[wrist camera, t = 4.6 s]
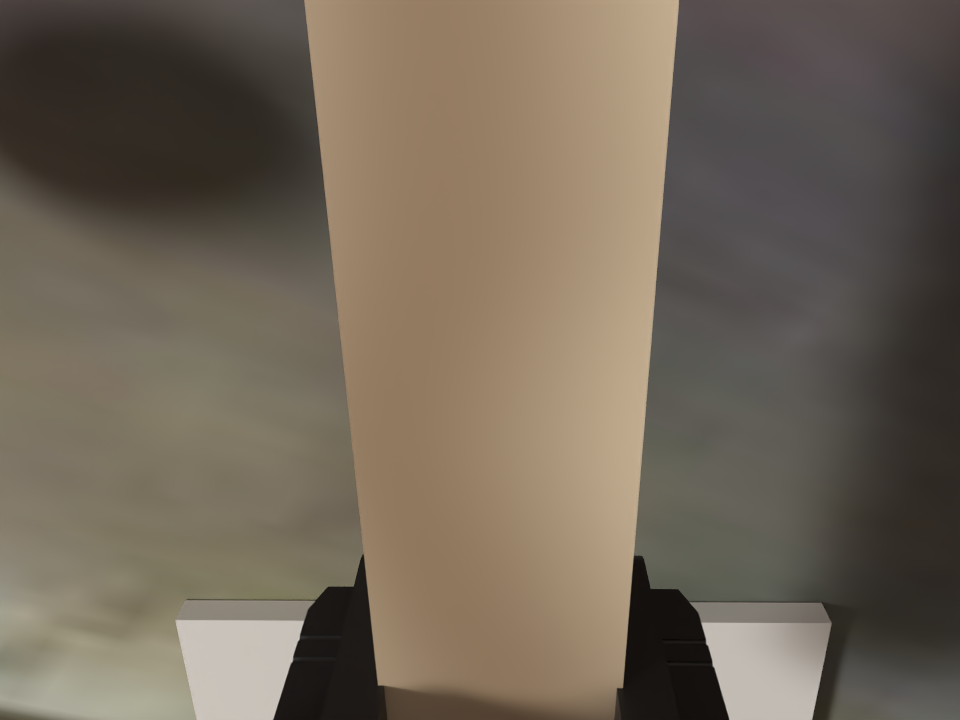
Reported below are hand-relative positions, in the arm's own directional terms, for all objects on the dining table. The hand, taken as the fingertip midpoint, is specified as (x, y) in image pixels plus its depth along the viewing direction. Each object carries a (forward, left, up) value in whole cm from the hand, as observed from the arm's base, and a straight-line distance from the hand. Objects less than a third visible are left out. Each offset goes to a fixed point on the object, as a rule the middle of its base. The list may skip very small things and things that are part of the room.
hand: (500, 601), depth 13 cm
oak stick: (0, 0, -1) cm, 1 cm away
